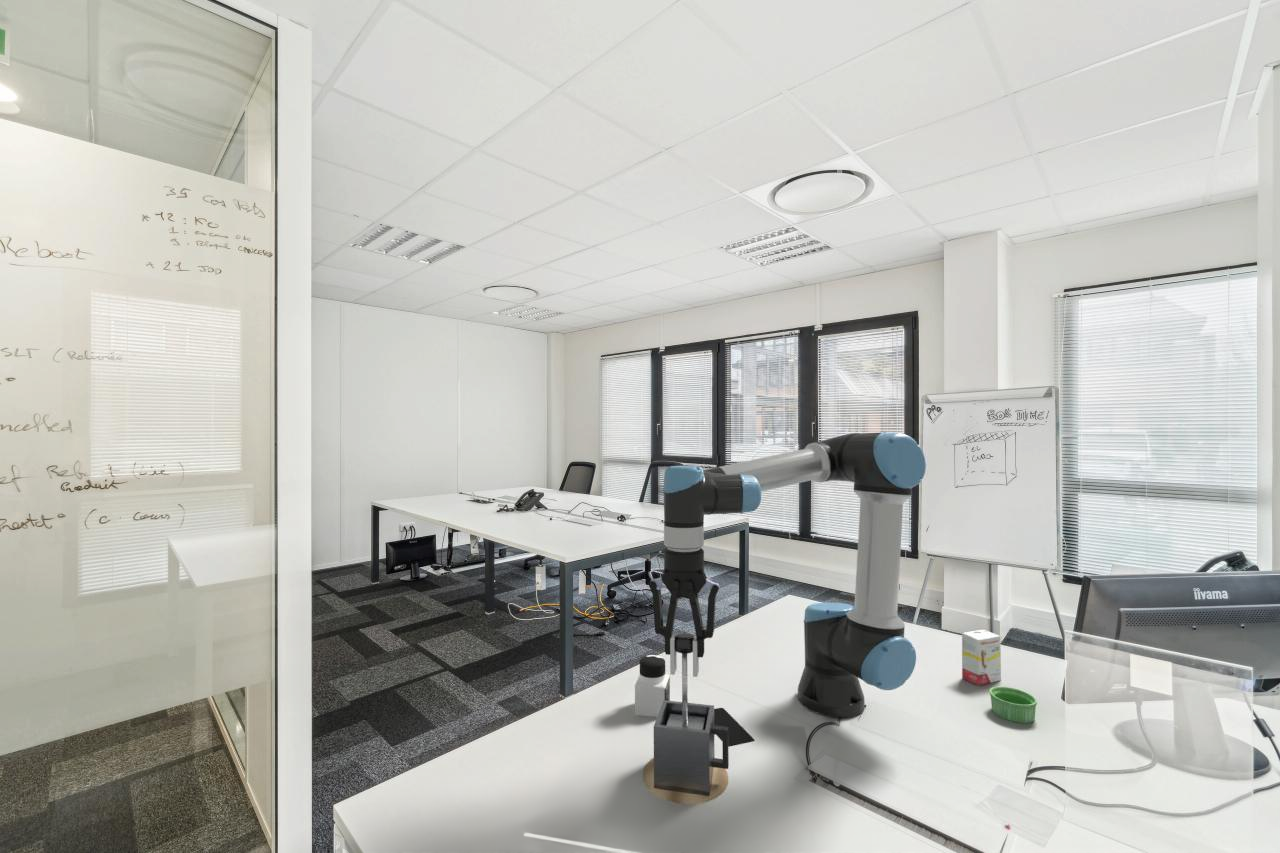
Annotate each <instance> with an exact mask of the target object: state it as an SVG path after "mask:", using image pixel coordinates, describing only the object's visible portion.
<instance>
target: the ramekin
mask: <svg viewBox="0 0 1280 853" xmlns="http://www.w3.org/2000/svg"><path fill="white" fill-rule="evenodd" d="M988 693H989V696H990V701H991V702H990V703H991V709H992V711H993V713H994V714H995V715H997V716H999V718H1002V719H1003V720H1006V721H1010V722H1013V723H1021V724H1028V723H1032V722H1034V721H1035V719H1036V708H1037V704H1038V701H1037V698H1036V697H1035V696H1034V695H1032V694H1030V693H1028V692H1026V691H1024V690H1021V689H1019V688H1014V687H1009V686H994V687H993V686H992V687H991V688H989V692H988Z"/></svg>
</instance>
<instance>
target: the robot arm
mask: <svg viewBox="0 0 1280 853" xmlns="http://www.w3.org/2000/svg"><path fill="white" fill-rule="evenodd" d="M926 464H927V463H926V457H925V453H924V451H923V449H922V448H921V446H920V445H919V444H918V443H917V441H916V440H915V439H914V438H913V437H911V436H910V435H907V434H905V433H899V432H891V431H889V432H885V431H883V432H861V433H860V432H854V433H853V432H852V433H846V434H842V435H839V436H835V437H831V438H828V439H823V440H819V441H816V442H812V443H811V442H810V443H808V444H807V445H806V446H805V447H804V448H803V449H798V450H794V451H788V452H784V453H779V454H775V455H771V456H770V455H769V456H766V457H765V456H764V457H760V458H757V459H756V458H755V459H750V460H745V461H741V462H736V463H731V464H726V465H722V466H718V467H711V468H708V469H703V467H702V466H699V465H671V466H668V467H667V468H665V470H664V474H663V488H662V492H663V517H664V518H663V522H664V523H663V544H664V546H665V547H666V548H665V549H664V550H663V561H664V562H663V567H664V568H663V573H662V575H661V576H660V577H658V578H652V579H651V580H650V581H649V583H648V587H649V589H650V591H651V594H652V606H653V622H654V632H655V634H656V635H661V636H662V637H663V638H664V654H665V655H668V656H670V658H669V660H670V662H669V663H670V665H669V666H670V668H669V669H670V670H669V671H670V674H669V675H673V676H674V675H675V674H676V672H677V669H678V667H677V662H678V661H677V660H678V658H677V656H678V655H677V653H678V652H676V651H675V636H676V635H677V634H675V633H673V632H674V626H675V620H676V614H677V608H678V604H679V599H683V598H685V599H686V600H687V599H688V601H689V606H690V609H691V615H692V621H693V625H694V630H695V635H693V636H694V639H693V652H692V677H693V678H694V677H696V678H697V677H698V675H699V671H700V669H699V668H700V665H699V663H700V662H699V660H700V658H703V657H704V654H705V640H706V639H712V638H713V636H714V633H715V619H716V618H715V617H716V602H717V598H716V597H717V594H718V591H719V589H720V586H721V585H720V583H719V582H718V581H715V582H714V581H712V580H709V579H708V578H707V575H706V573H705V550H704V549H703V547H704V546H705V545H704V544H705V538H704V537H705V534H704V533H705V532H704V531H705V528H704V524H705V523H704V519H705V516H708V515H720V514H721V515H723V514H724V515H725V514H744V513H751V512H754V511H756V510H757V509H758V508H759V507H760V504H761V502H762V493H763V492H767V491H770V490H771V491H772V490H776V489H779V488H784V487H788V486H794V485H797V484H801V483H806V482H810V481H813V482H815V483H824V482H830V481H834V482H835V481H836V482H837V481H841V482H851V483H853V492H854V494H855V495H857V497H858V498H859V499H860V501H859V502H860V503H859V504H860V506H859V519H858V520H859V521H858V536H857V537H858V539H857V557H856V574H855V588H854V589H855V593H854V606H853V605H851V604H848V603H843V602H818V603H816V602H815V603H812V604H809V605H808V606H807V607H806V608H805V609H804V616H803V617H804V618H803V627H804V628H803V629H804V632H803V633H804V634H803V635H804V637H803V638H804V668H803V671H802V673H801V674H802V675H801V678H800V679H799V683H798V686H797V700H798V701H799V704H801V705H802V706H803V707H805V709H807V710H809V711H812V712H814V713H816V714H818V715H822V716H827V717H833V718H851V717H854V716H858V715H860V714H862V713H863V712H864V710H865V708H864V706H865V701H866V700H865V695H864V692H863V688H862V686H861V683H860V680H862V681H863V682H864V683H866V684H867V685H870V686H872V687H875V688H876V689H879V690H882V691H894V690H896V689H898V688H900V687H902V686H903V685H904V684H905V683H906V682H907V680H909V679H910V677H911V676H912V674H913V672H914V670H915V668H916V663H917V652H916V649H915V647H914V646H913V643H912V642H911V641H910V640H909V639H908V638H906V637H905V622H904V621H903V620H902V619H901V618H900V617H899V615H898V608H899V607H898V606H899V589H900V588H899V587H900V586H899V585H900V568H901V567H900V566H901V552H902V551H901V550H902V548H901V546H902V529H903V511H904V510H903V509H904V503H905V502H907V501H908V499H910V498H911V497H912V490H913V488H914V487H916V486H918V485H919V484H920V483H921V482H922V480H921V479H923V478H924V477H925V474H926V467H927V466H926ZM663 584H664V586H665V587H666V589H667V590H668V592H669V593H670V597H669V598H670V599H669V605H668V612H667V618H666V621H665V622H666V623H665V625H664V615H663V599H662V589H663ZM704 587H706V589H705V590H706V592H707V594H708V597H707V598H708V599H707V613H706V614H707V615H706V616H707V617H706V628H705V629H704V623H703V618H702V613H701V607H700V602H699V593H700V591H701V590H702V589H703V588H704ZM859 679H860V680H859Z"/></svg>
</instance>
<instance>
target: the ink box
mask: <svg viewBox="0 0 1280 853" xmlns="http://www.w3.org/2000/svg"><path fill="white" fill-rule="evenodd" d="M1001 642H1002V641H1001V636H1000V635H999V634H997V633H994V632H991V631H989V630H987V629H977V630H973V631H972V630H971V631H965V632H963V633H962V634H961V656H962V657H961V677H962V679H963V680H966V681H968V682H971V683H972V684H975V685H977V686H983V685H988V684H990V683H991V684H992V683H996V682H999V681H1002V661H1001V655H1002V653H1001V649H1002V648H1001Z"/></svg>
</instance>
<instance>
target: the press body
mask: <svg viewBox="0 0 1280 853" xmlns="http://www.w3.org/2000/svg"><path fill="white" fill-rule="evenodd" d="M714 709H715V705H711V704H701V703H695V702H694V703H693V702H688V716H694V717H703V718H705V724H704V729H703V730H698V729H690V728H682V727H673V726H666V725H667V722H668V719H669V716H670V714H677V715H682V701H675V700H674V701H673V700H670V701H667V700H664V701H663V703H662V706H661V708H660V711H659V714H658V716H657V717H656V719H655V723H654V725H653V758H654V788H656V789H663V790H669V791H676V792H683V793H690V794H697V795H704V796H710V790H711V783H712V776H713V770H714V767H716V768H723V769H726V770H729V759H730V758H729V747H728V727H723V726H715V725H714ZM715 735H716V736H717V735H722V741H721V742H722V758H717V757H715Z"/></svg>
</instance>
